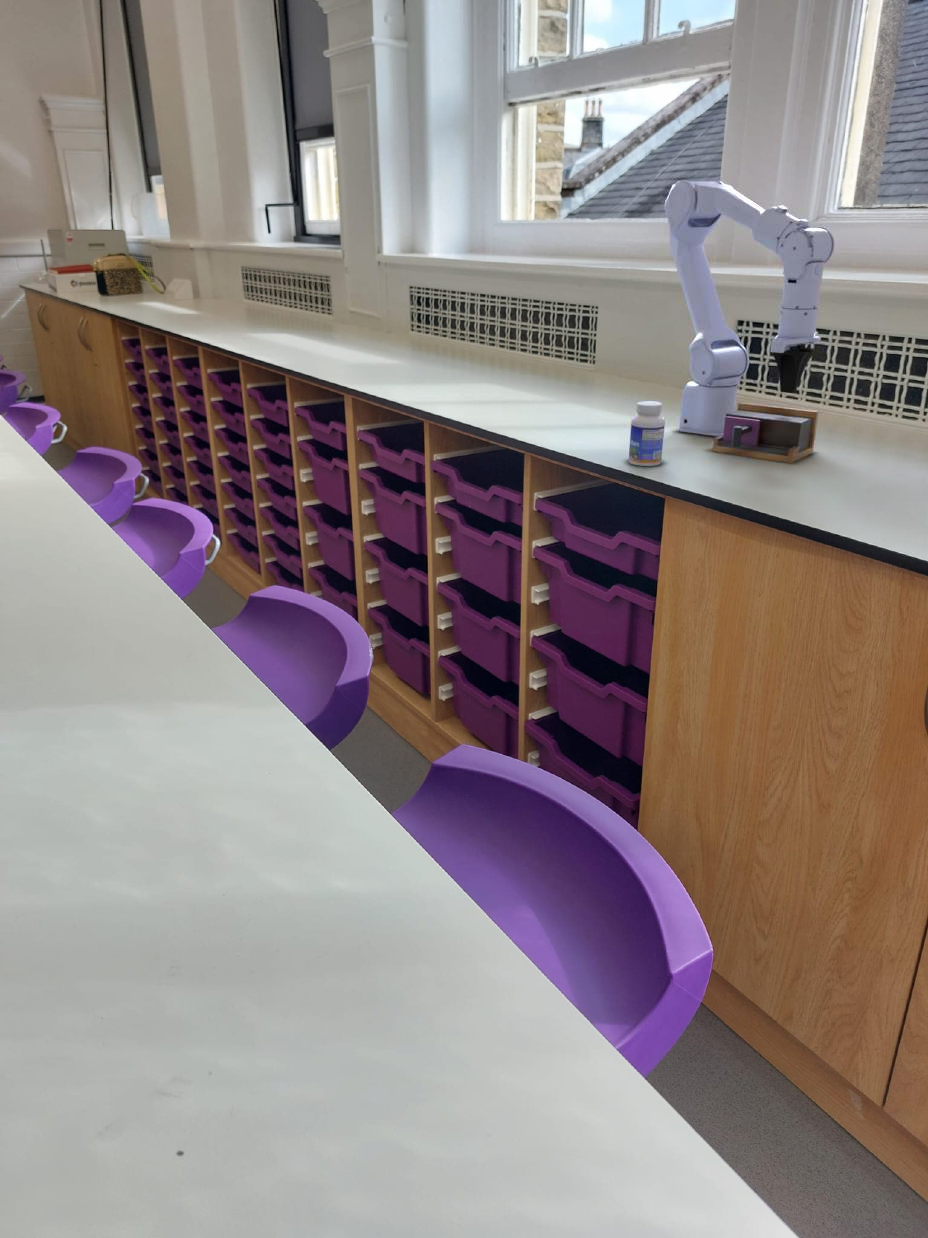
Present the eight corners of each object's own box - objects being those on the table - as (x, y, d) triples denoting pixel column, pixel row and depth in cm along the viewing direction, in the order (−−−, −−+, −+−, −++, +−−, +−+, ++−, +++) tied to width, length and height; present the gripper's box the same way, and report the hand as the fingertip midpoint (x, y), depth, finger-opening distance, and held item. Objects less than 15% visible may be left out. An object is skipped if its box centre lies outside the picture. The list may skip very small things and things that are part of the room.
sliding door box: (712, 450, 151) (716, 410, 148) (735, 441, 157) (740, 402, 155) (791, 462, 143) (797, 419, 140) (812, 452, 149) (818, 411, 146)
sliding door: (708, 449, 147) (710, 421, 145) (724, 443, 151) (727, 415, 149) (741, 454, 144) (745, 426, 142) (757, 448, 148) (760, 420, 146)
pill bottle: (624, 459, 147) (628, 400, 143) (656, 457, 148) (660, 399, 144) (633, 467, 142) (637, 406, 138) (665, 466, 143) (670, 405, 139)
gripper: (805, 312, 136) (794, 400, 142) (840, 305, 146) (827, 388, 152) (762, 310, 141) (752, 396, 146) (798, 303, 151) (788, 384, 156)
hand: (788, 391), depth 149 cm, fingers closed
